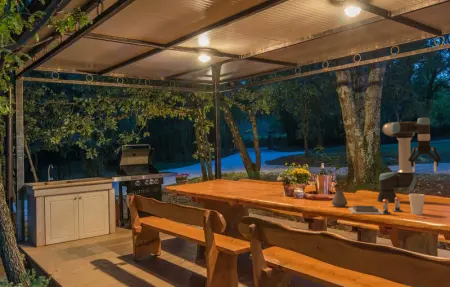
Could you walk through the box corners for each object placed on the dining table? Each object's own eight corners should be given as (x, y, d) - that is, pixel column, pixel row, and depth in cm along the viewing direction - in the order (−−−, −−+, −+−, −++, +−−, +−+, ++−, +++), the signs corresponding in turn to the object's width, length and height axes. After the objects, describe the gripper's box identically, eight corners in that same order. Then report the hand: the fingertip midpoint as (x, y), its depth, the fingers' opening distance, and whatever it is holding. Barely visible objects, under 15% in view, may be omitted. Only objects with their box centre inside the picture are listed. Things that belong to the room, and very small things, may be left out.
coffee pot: (342, 208, 279) (342, 187, 279) (328, 206, 287) (328, 186, 287) (356, 204, 294) (356, 185, 294) (342, 203, 302) (342, 184, 302)
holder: (348, 208, 275) (348, 204, 275) (377, 209, 271) (377, 205, 271) (352, 214, 255) (352, 209, 255) (383, 214, 251) (383, 210, 251)
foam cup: (408, 214, 250) (407, 195, 250) (410, 212, 258) (409, 193, 258) (424, 215, 245) (423, 195, 245) (425, 213, 252) (425, 194, 252)
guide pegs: (379, 213, 255) (378, 198, 255) (395, 210, 266) (395, 196, 266) (387, 214, 250) (386, 199, 250) (404, 211, 261) (403, 197, 261)
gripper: (406, 140, 255) (406, 171, 255) (446, 140, 250) (446, 171, 250) (402, 140, 262) (403, 171, 262) (441, 140, 258) (442, 171, 258)
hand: (424, 171), depth 256 cm, fingers open, 13 cm apart
